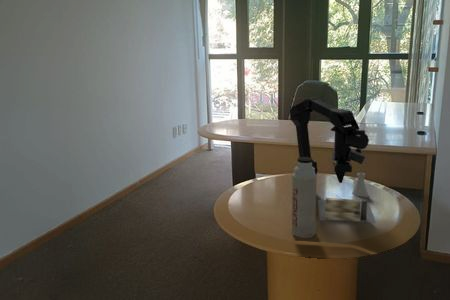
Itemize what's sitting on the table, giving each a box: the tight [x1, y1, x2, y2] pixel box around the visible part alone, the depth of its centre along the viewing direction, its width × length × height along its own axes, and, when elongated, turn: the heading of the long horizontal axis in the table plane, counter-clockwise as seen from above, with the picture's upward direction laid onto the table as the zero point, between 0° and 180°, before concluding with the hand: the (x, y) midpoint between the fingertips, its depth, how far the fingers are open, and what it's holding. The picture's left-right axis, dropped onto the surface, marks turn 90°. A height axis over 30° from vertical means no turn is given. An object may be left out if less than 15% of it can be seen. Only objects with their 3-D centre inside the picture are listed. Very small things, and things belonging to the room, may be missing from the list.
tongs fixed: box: [324, 199, 368, 222], centre depth 150 cm, size 15×4×7 cm, turn 79°
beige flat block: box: [324, 197, 361, 213], centre depth 153 cm, size 12×2×6 cm, turn 74°
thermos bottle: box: [291, 157, 318, 239], centre depth 138 cm, size 8×8×28 cm
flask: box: [351, 172, 369, 198], centre depth 174 cm, size 7×7×10 cm
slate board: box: [317, 199, 377, 224], centre depth 158 cm, size 20×20×1 cm
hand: (340, 182), depth 158 cm, fingers closed
